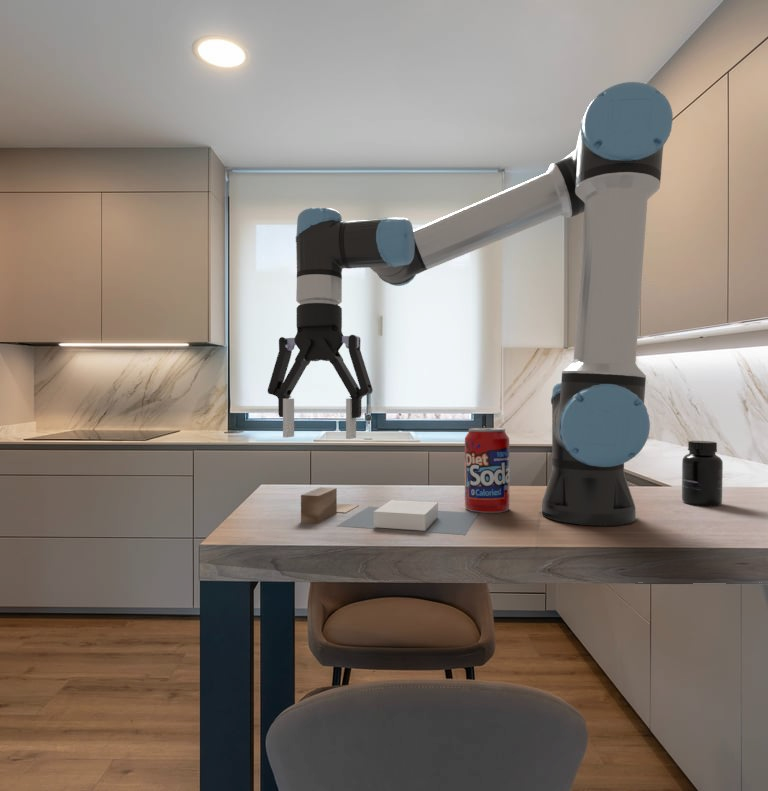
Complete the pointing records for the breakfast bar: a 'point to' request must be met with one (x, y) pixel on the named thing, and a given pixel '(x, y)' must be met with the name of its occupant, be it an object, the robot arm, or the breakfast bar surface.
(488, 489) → the soda can
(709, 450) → the supplement bottle
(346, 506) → the block with thin plate
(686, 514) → the breakfast bar surface
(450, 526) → the mat
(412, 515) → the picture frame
